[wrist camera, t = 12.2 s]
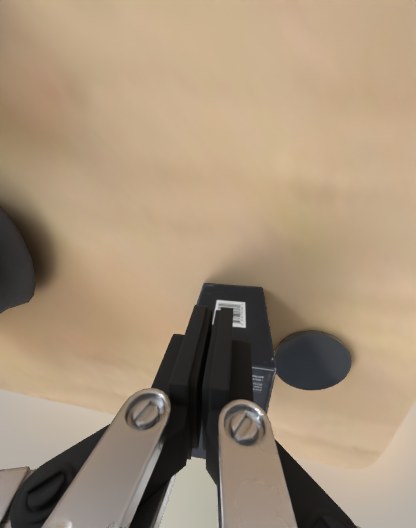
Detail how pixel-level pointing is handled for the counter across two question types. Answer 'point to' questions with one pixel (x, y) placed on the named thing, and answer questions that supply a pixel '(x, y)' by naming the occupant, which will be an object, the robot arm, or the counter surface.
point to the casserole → (14, 266)
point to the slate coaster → (312, 360)
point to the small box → (245, 335)
